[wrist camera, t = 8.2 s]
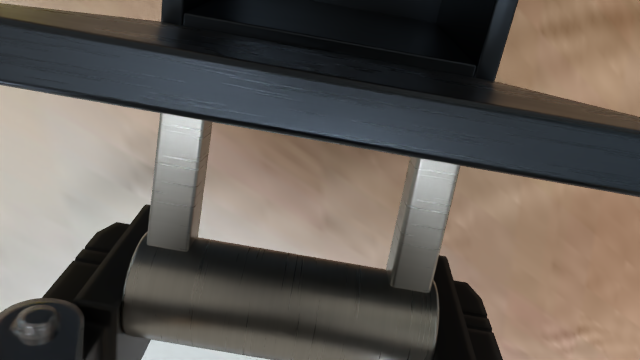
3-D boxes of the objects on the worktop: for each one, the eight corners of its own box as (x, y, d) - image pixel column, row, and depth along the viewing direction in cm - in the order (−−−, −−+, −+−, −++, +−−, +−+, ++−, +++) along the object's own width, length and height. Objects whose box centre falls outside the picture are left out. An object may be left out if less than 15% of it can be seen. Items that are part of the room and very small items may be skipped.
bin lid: (-222, -24, 6) (-201, 362, 8) (843, 166, 7) (703, 510, 8) (157, 21, 20) (143, 154, 22) (498, 82, 21) (466, 210, 22)
